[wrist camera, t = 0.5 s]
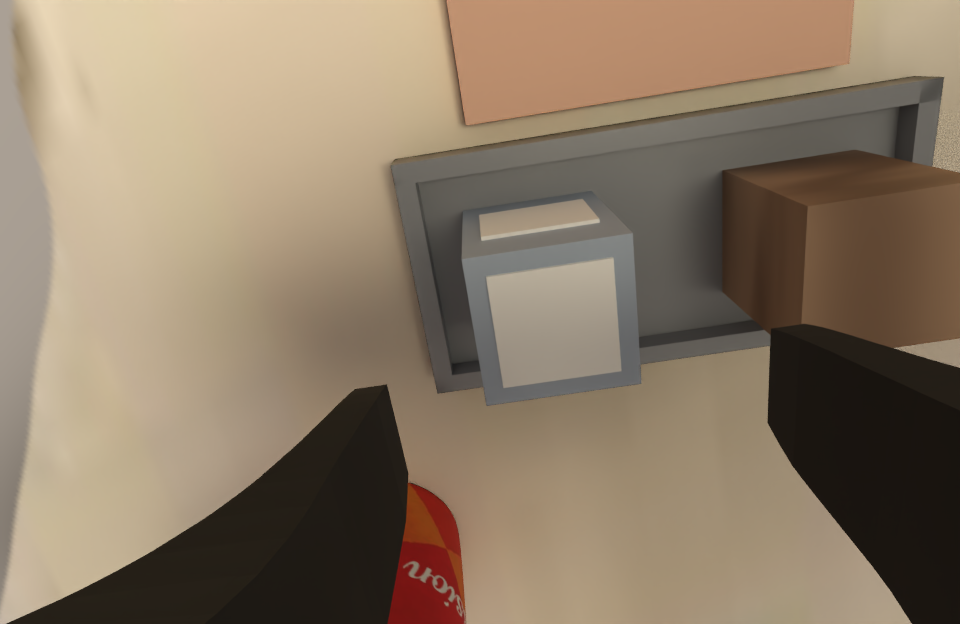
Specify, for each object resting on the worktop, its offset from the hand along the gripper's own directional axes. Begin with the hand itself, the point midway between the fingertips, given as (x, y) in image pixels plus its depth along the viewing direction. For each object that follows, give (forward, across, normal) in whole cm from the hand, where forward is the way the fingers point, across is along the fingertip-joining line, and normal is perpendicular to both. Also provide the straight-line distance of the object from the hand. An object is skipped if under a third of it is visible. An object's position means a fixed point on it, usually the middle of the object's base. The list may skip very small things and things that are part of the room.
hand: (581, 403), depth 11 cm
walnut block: (+9, -8, 0) cm, 12 cm away
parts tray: (+9, -4, 0) cm, 10 cm away
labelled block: (+9, 0, 0) cm, 9 cm away
